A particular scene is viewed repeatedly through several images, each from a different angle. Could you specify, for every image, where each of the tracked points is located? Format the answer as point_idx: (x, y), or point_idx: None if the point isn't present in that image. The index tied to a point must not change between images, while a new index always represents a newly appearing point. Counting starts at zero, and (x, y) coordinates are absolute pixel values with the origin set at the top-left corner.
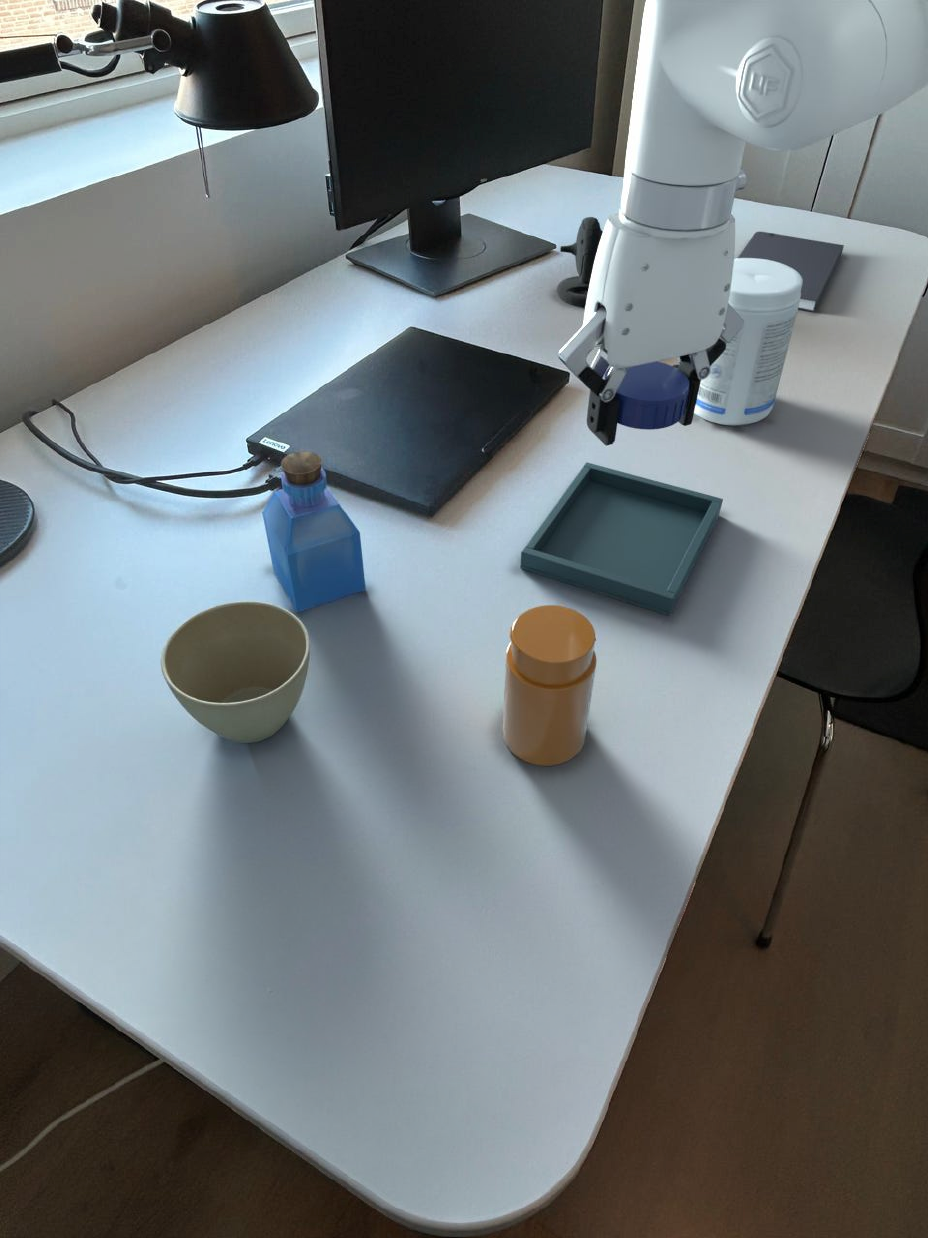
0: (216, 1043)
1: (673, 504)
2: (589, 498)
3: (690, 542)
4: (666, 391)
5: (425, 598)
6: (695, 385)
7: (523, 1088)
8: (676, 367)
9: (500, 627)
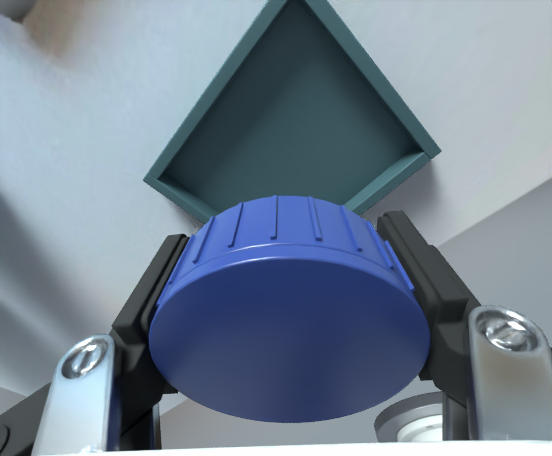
0: (15, 387)
1: (385, 110)
2: (275, 55)
3: (355, 189)
4: (311, 403)
5: (48, 187)
6: (419, 374)
7: None
8: (446, 310)
9: (128, 239)
